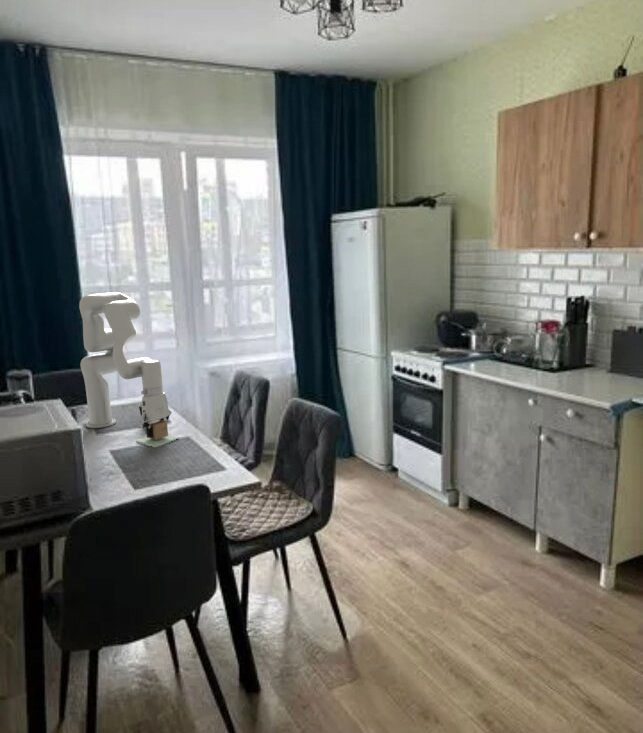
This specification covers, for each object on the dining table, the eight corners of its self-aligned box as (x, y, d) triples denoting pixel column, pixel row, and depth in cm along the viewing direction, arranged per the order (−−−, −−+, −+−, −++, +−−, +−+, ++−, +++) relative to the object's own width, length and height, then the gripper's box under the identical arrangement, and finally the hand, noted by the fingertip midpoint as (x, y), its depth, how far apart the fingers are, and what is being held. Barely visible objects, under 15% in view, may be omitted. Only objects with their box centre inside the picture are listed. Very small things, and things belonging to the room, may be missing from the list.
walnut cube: (146, 437, 238) (145, 423, 237) (158, 433, 243) (157, 419, 241) (156, 439, 234) (154, 425, 233) (168, 435, 239) (166, 421, 238)
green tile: (136, 442, 238) (135, 440, 238) (160, 434, 247) (160, 432, 247) (155, 447, 231) (155, 445, 230) (179, 439, 240) (179, 437, 240)
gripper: (140, 397, 226) (145, 442, 229) (176, 387, 239) (180, 430, 243) (128, 394, 230) (133, 439, 234) (164, 385, 244) (168, 427, 247)
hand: (157, 434), depth 238 cm, fingers closed on walnut cube, 6 cm apart
